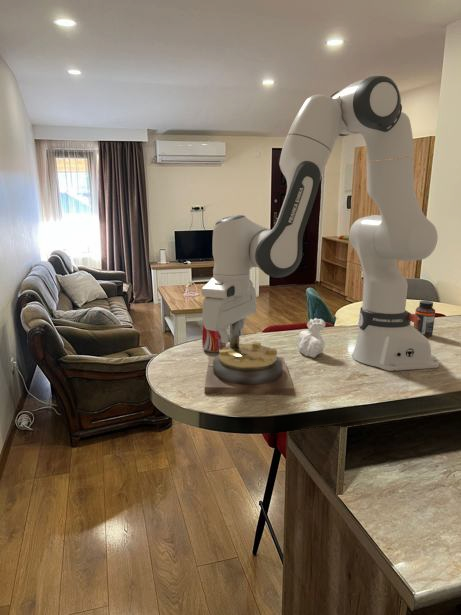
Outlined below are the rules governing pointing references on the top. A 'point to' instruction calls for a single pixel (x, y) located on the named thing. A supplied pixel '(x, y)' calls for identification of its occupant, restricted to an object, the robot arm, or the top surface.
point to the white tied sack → (311, 338)
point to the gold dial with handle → (246, 354)
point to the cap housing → (247, 379)
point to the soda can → (211, 340)
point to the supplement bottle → (425, 318)
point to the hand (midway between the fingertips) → (232, 338)
